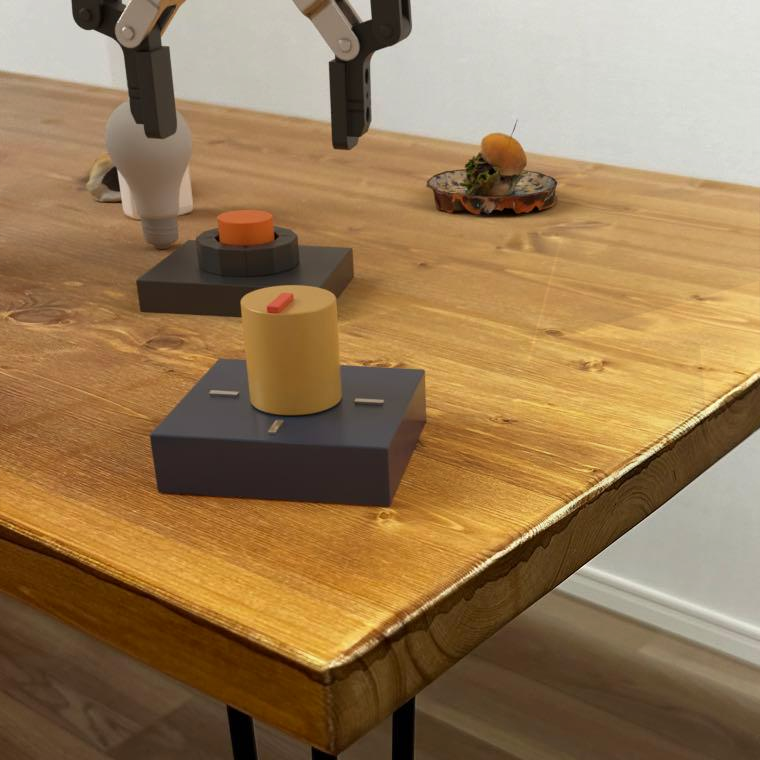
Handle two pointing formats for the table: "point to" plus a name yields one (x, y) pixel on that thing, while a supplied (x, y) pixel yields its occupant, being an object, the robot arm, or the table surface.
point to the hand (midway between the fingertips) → (252, 141)
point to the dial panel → (292, 440)
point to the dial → (292, 349)
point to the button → (245, 227)
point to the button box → (238, 273)
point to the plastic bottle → (184, 196)
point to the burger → (494, 180)
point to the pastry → (104, 180)
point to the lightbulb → (150, 171)
